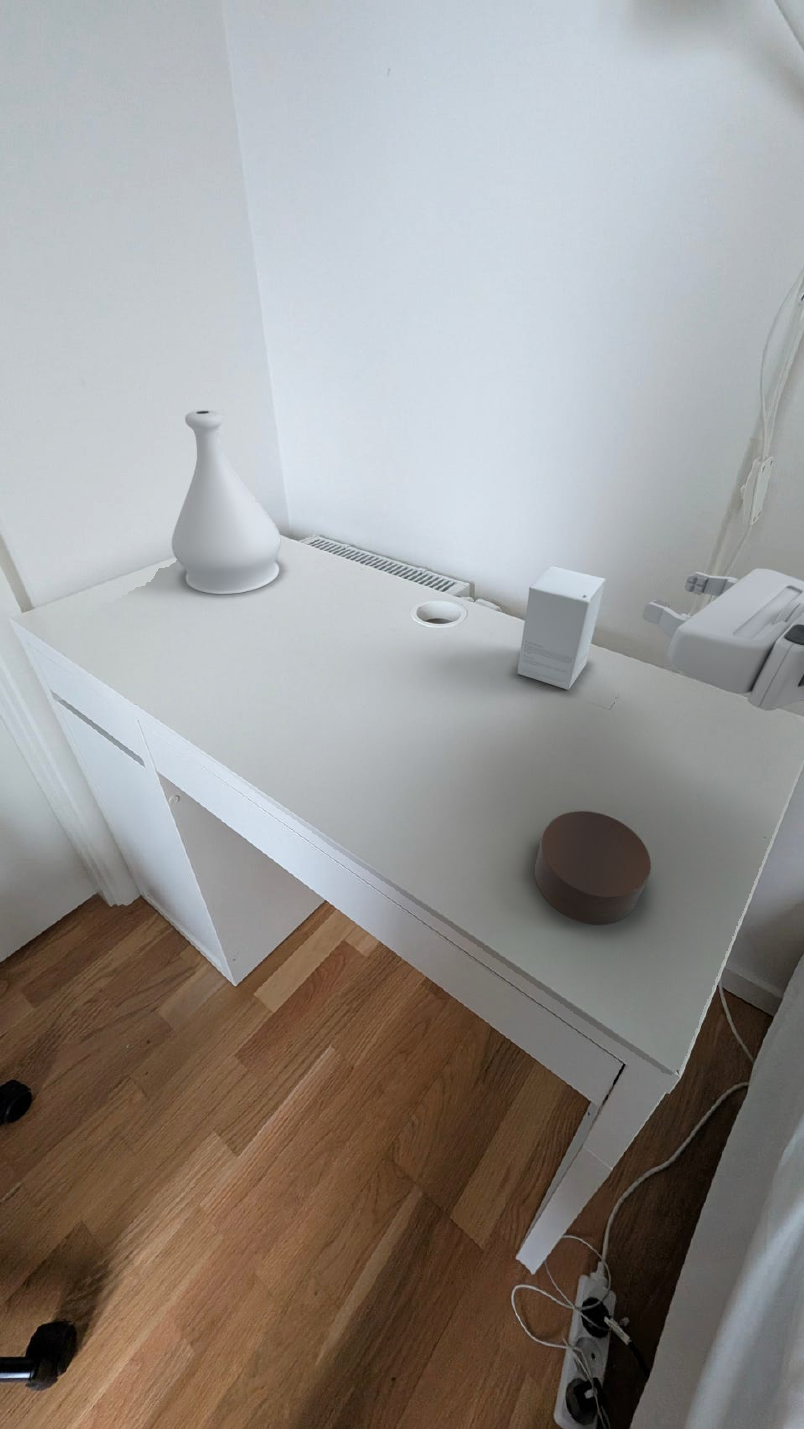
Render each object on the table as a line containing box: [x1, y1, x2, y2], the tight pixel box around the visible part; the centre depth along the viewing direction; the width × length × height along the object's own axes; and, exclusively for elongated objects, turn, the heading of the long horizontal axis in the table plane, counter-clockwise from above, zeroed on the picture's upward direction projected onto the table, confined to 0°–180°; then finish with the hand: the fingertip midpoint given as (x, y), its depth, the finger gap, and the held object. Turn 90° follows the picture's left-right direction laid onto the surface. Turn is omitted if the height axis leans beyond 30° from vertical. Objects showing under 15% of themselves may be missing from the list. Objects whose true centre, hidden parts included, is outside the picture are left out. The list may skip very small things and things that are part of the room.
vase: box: [171, 409, 282, 595], centre depth 91 cm, size 17×17×25 cm
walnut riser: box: [534, 810, 652, 925], centre depth 50 cm, size 9×9×4 cm
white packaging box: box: [517, 565, 607, 691], centre depth 73 cm, size 7×7×13 cm
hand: (669, 593), depth 60 cm, fingers open, 8 cm apart
